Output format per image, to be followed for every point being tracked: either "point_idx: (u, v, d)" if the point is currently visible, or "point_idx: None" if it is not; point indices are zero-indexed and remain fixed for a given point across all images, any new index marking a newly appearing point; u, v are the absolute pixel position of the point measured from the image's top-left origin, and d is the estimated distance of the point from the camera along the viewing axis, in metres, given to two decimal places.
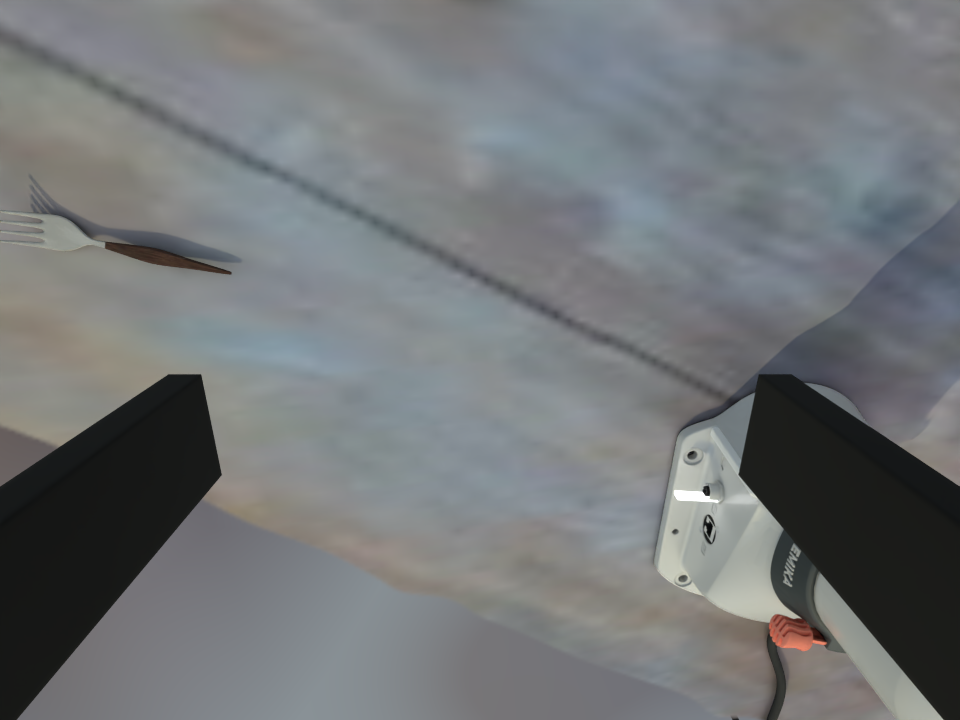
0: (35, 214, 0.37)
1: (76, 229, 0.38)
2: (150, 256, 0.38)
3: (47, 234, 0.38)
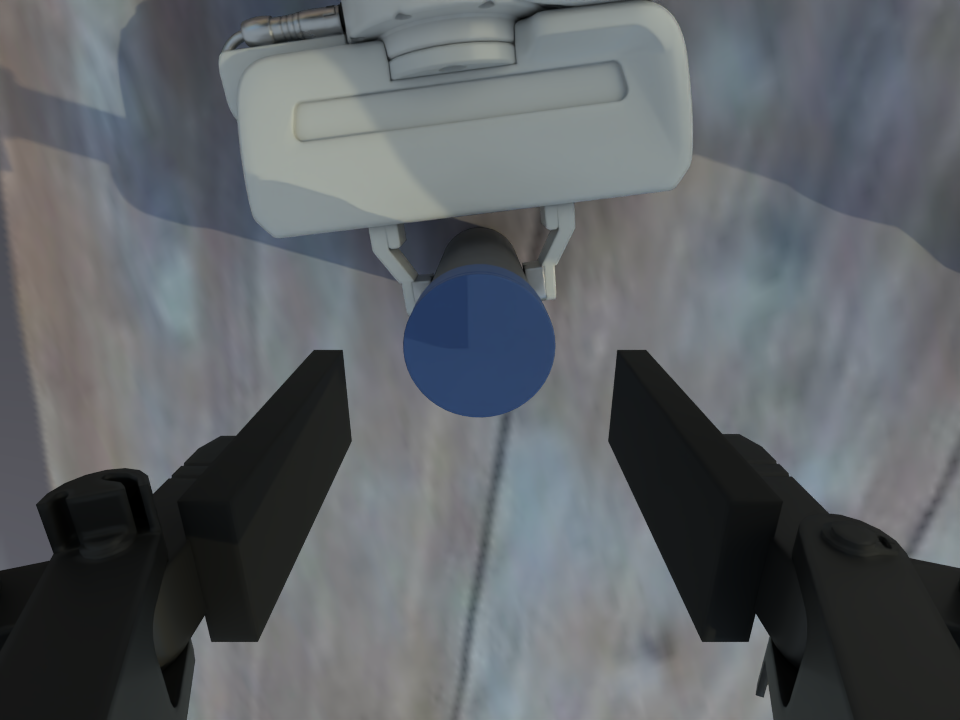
0: None
1: None
2: None
3: None
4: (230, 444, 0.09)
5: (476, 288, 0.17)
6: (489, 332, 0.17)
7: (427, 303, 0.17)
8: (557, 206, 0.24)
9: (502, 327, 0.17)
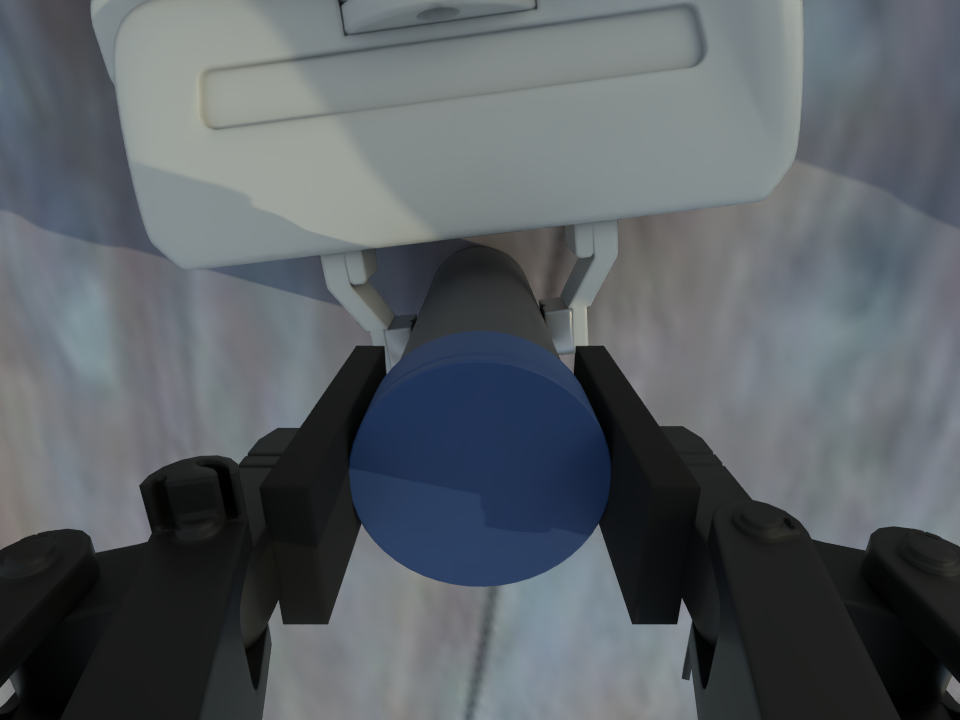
0: None
1: None
2: None
3: None
4: (296, 435, 0.09)
5: (475, 385, 0.09)
6: (498, 457, 0.10)
7: (388, 410, 0.10)
8: (593, 224, 0.17)
9: (520, 449, 0.10)
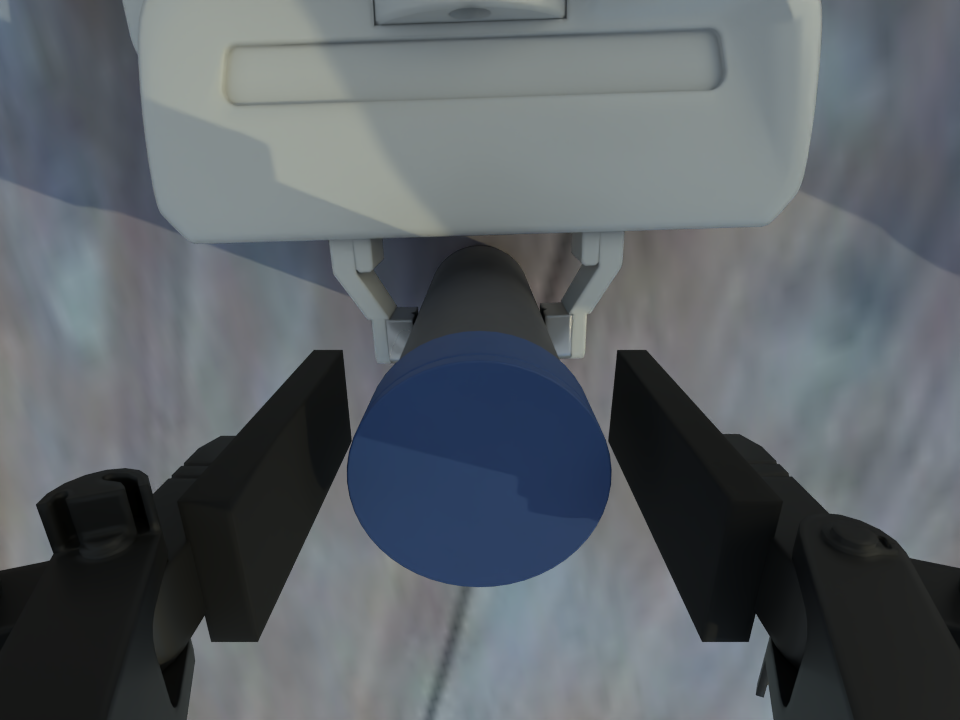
0: None
1: None
2: None
3: None
4: (230, 444, 0.09)
5: (371, 471, 0.10)
6: (450, 464, 0.10)
7: (387, 541, 0.11)
8: (600, 234, 0.17)
9: (445, 443, 0.10)
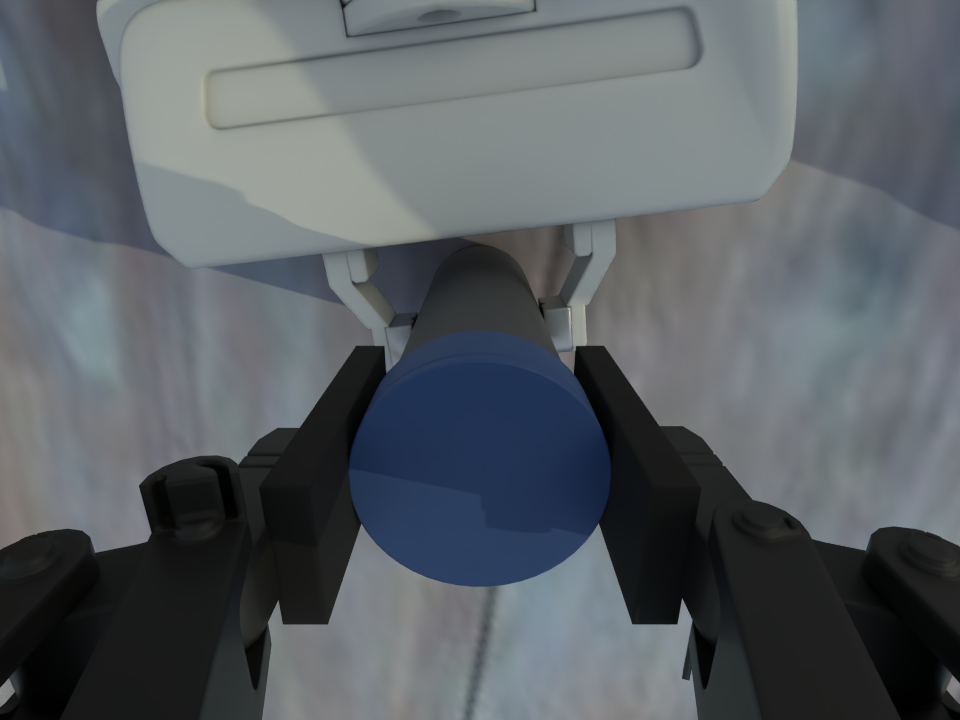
0: None
1: None
2: None
3: None
4: (296, 434, 0.09)
5: (371, 479, 0.10)
6: (450, 465, 0.10)
7: (395, 547, 0.11)
8: (591, 223, 0.17)
9: (442, 446, 0.10)
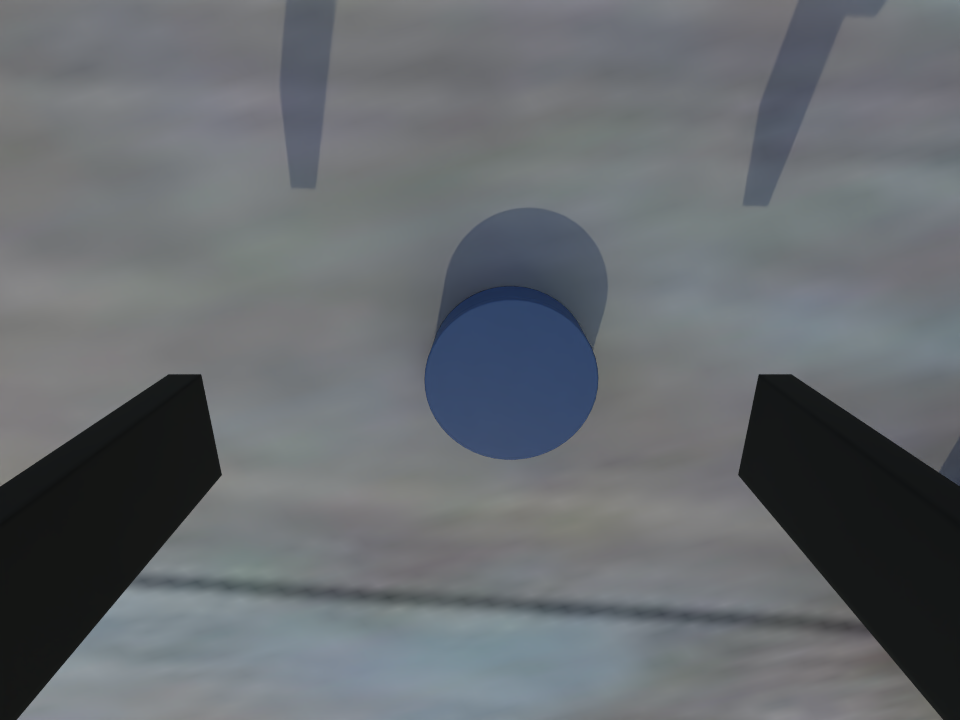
0: None
1: None
2: None
3: None
4: None
5: (440, 380, 0.15)
6: (491, 371, 0.15)
7: (453, 430, 0.16)
8: None
9: (487, 357, 0.15)
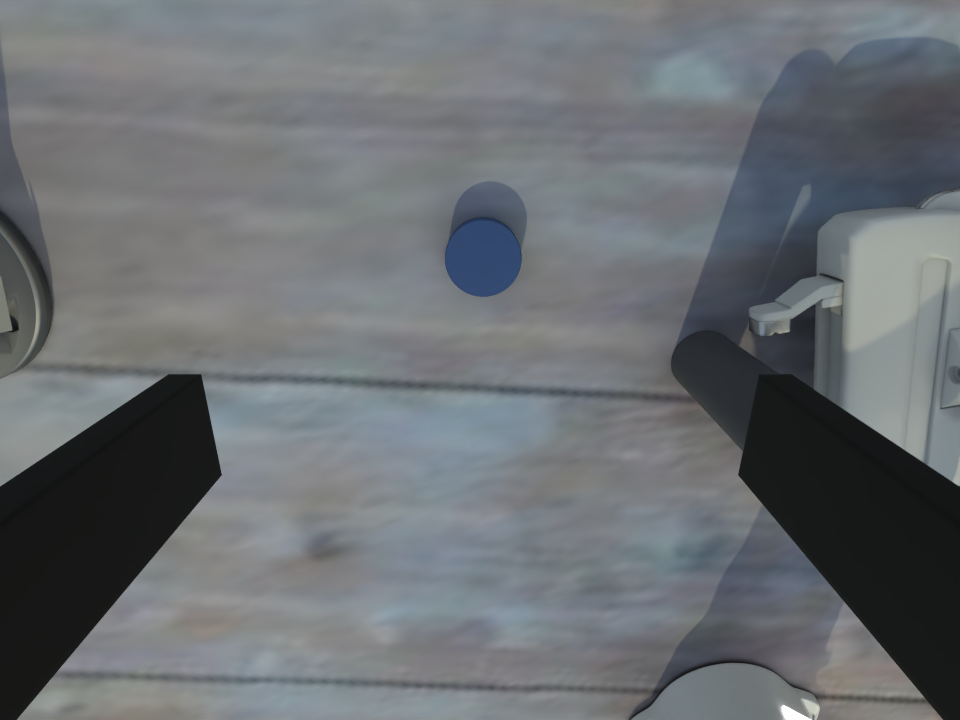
0: None
1: None
2: None
3: None
4: None
5: (452, 257, 0.35)
6: (474, 253, 0.35)
7: (457, 282, 0.36)
8: None
9: (472, 246, 0.35)
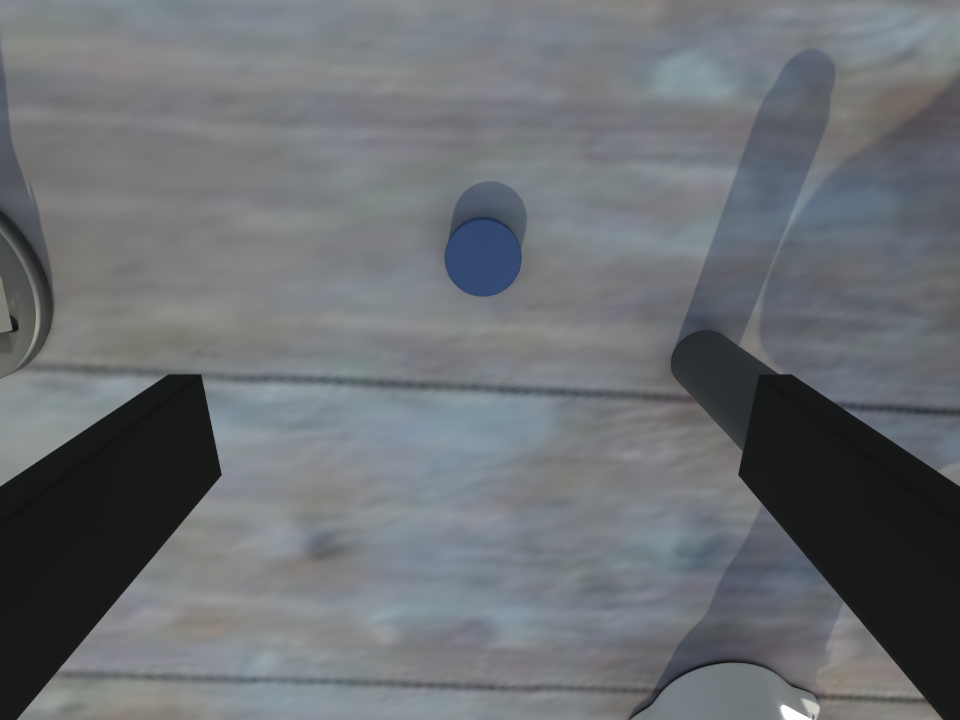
0: None
1: None
2: None
3: None
4: None
5: (452, 257, 0.35)
6: (474, 253, 0.35)
7: (457, 282, 0.36)
8: None
9: (472, 246, 0.35)
